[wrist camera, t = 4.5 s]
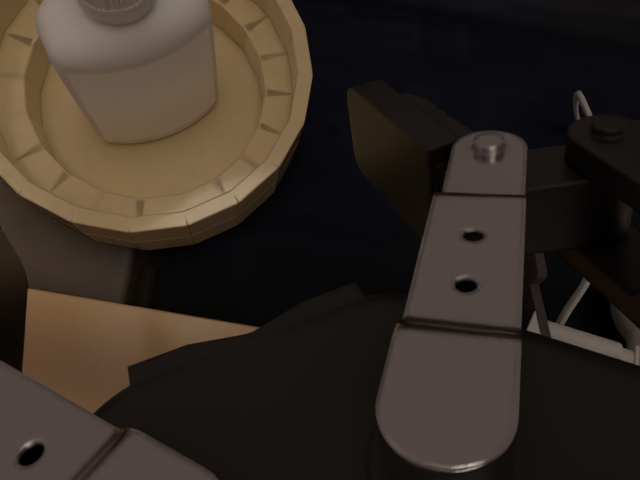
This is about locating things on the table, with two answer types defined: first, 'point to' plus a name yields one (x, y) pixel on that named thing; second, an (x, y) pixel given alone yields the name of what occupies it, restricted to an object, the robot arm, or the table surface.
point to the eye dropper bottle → (133, 63)
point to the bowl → (163, 154)
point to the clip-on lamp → (573, 302)
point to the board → (103, 342)
